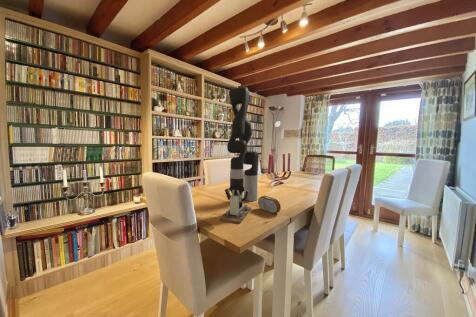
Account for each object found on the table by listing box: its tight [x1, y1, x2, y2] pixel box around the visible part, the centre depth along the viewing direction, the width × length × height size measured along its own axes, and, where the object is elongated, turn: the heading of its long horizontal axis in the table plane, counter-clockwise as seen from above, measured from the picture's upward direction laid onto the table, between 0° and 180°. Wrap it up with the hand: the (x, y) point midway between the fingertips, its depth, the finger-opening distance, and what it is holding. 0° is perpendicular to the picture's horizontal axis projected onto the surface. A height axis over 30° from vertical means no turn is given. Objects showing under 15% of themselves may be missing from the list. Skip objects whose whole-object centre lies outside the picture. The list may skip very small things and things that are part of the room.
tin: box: [257, 195, 282, 214], centre depth 117 cm, size 15×3×8 cm, turn 41°
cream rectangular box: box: [229, 192, 244, 215], centre depth 112 cm, size 4×12×9 cm, turn 162°
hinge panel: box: [219, 204, 252, 224], centre depth 112 cm, size 22×11×4 cm, turn 162°
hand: (236, 207), depth 112 cm, fingers closed on cream rectangular box, 3 cm apart
